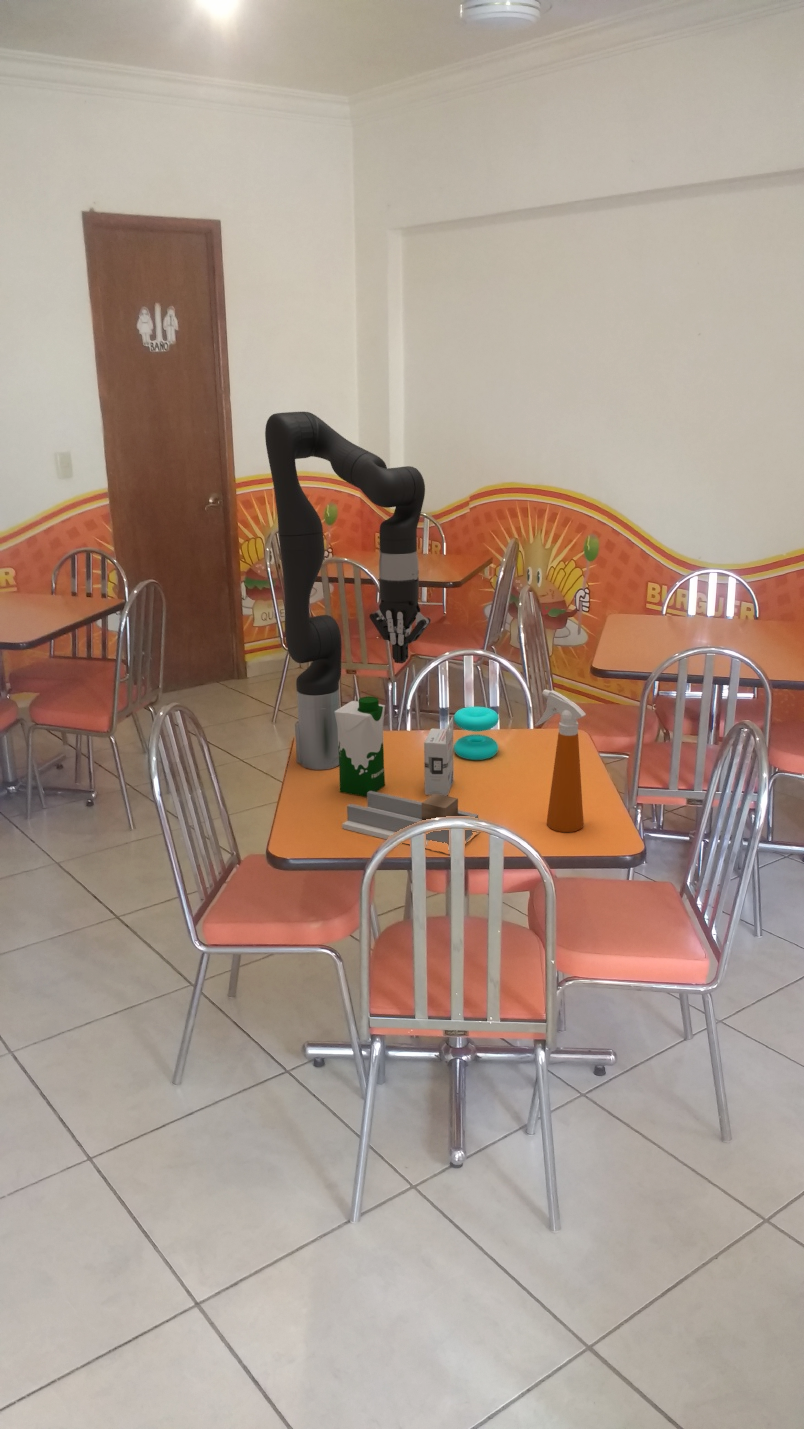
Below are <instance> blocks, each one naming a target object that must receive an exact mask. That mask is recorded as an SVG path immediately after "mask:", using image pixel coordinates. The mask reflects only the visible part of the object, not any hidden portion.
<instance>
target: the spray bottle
mask: <svg viewBox="0 0 804 1429" xmlns="http://www.w3.org/2000/svg"><path fill="white" fill-rule="evenodd" d="M541 694H542V696H543V697H544V698H546V699H547V701H546V703H545V705H546V709H545V711H544V712H543V714H542V716H541V717H540V719H538V721H537V722H536V723H535V724H534V727H536V726H539V725H541V724H544V723H545V722H546V721H548V720H549V719H550V718H551V717H553V716H555V715H556V714H559V715H560V721H559V722H558V734H557V742H556V750H555V757H554V763H553V764H554V765H553V772H552V779H551V785H550V795H549V801H548V808H547V809H548V810H547V816H546V826H547V827H548V828H549V829H551V830H554V831H555V832H560V833H573V832H576V831H580V830H581V829H582V828H584V825H585V824H584V823H585V822H584V812H583V810H584V809H583V794H582V792H583V791H582V775H581V760H580V744H579V743H580V742H579V741H580V740H579V722H578V720H579V719H581V718H583V717H585V716H586V712H585V711H584V710H583V709H582V708H581V707H580V706H579V705H578V704H576V703H575V702H573V701H572V700H571V699H569V698H567V697H566V696H564V695H563V694H561V693H560V692H557V691H555V689H552V690H549V689H544V690H542V693H541Z"/></svg>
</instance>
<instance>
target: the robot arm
mask: <svg viewBox="0 0 804 1429" xmlns="http://www.w3.org/2000/svg"><path fill="white" fill-rule="evenodd" d="M264 436H265V447H266V453H267V457H268V458H267V460H268V462H269V469H270V474H271V477H272V478H271V479H272V483H273V484H272V485H273V491H274V499H275V506H276V515H277V526H278V527H277V528H278V541H279V549H280V550H279V552H280V557H281V566H282V574H283V575H282V576H283V577H282V578H283V588H284V590H283V592H284V593H283V594H284V635H285V636H284V637H285V638H284V639H285V644H286V648H287V651H288V654H289V657H290V658H291V659H292V660H293V661H294V662H295V663H297V664H306V663H310V662H311V664H309V666H308V667H307V668H306V669H305V670H304V671H303V672H301V673H300V674H299V675H298V676H297V677H296V681H295V683H296V685H295V687H296V700H297V701H296V702H297V718H298V719H297V720H298V721H296V722H295V723H294V733H295V734H294V735H295V752H296V754H295V755H296V763H297V764H299V765H301V766H302V767H303V768H306V769H310V770H328V769H329V770H330V769H333V768H336V767H339V750H338V728H337V722H336V717H335V711H336V710H338V709H339V708H341V706H340V705H341V704H340V702H341V701H340V679H341V676H342V652H343V651H342V649H343V648H342V635H341V630H340V626H339V624H338V622H337V620H336V619H335V618H334V617H332V616H331V615H328V614H321V615H320V614H319V615H316V616H311V617H310V598H311V594H312V591H313V588H314V585H315V583H316V579H317V578H318V576H319V573H320V570H321V567H322V565H323V562H324V559H325V555H326V554H325V539H324V526H323V523H322V520H321V518H320V515H319V514H318V512H317V510H316V509H315V506H313V504H312V503H311V501H310V500H309V498H308V497H307V496H306V494H305V492H304V490H303V488H302V487H301V484H300V481H299V477H298V472H297V467H296V460H297V459H298V460H299V459H309V458H311V457H312V458H313V457H314V458H318V459H323V460H326V461H328V462H329V463H330V466H331V468H332V470H333V472H334V473H335V474H336V475H337V476H338V477H339V478H340V479H341V480H343V481H345V482H346V483H347V484H350V485H352V486H354V487H356V488H357V489H360V491H361V492H362V493H363V494H364V495H365V497H367V499H368V500H369V501H370V502H371V503H372V504H374V505H376V506H378V507H381V508H387V509H388V508H389V509H391V508H394V511H393V514H392V516H390V517H389V518H387V519H385V520H383V521H382V522H381V523H380V525H379V533H378V534H379V559H378V578H379V579H378V580H379V599H380V603H379V605H378V610H376V611H375V612H372V613H369V619H370V621H371V622H372V624H373V625H374V627H375V628H376V630H377V631H378V633H379V634H380V636H381V638H382V640H384V641H388V642H390V643H391V649H392V650H391V652H392V653H391V656H392V660H394V663H396V664H401V665H402V664H404V663H406V661H407V660H408V659H409V644H412V643H413V642H416V641H417V640H418V639H419V638H420V636H421V635H422V634H423V633H424V632H425V630H426V629H427V627H428V626H429V625H430V624H431V618H430V617H425V616H424V615H423V614H422V613H421V607H420V605H419V598H420V581H419V580H420V579H419V578H420V577H419V576H420V575H419V574H420V568H419V558H418V557H419V556H418V541H417V540H418V535H417V529H418V525H419V521H420V517H421V513H422V510H423V509H422V508H423V506H424V500H425V494H426V484H425V480H424V477H423V474H422V473H421V471H420V470H418V468H416V467H414V466H410V465H409V466H397V467H390V468H388V467H387V464H386V462H385V461H384V460H383V459H382V458H381V457H380V456H378V455H377V454H374V453H373V452H371V451H369V450H367V449H364V448H363V447H361V446H359V445H356V444H354V443H353V442H352V441H349V440H348V439H346V438H345V437H344V436H342V435H341V434H340V433H339V432H337V431H336V430H335V429H333V428H332V427H331V426H330V425H329V424H328V423H326V422H325V421H324V420H322V418H320V417H319V416H317V415H316V414H313V413H312V412H309V411H287V412H276V413H273V414H271V415H270V416H269V417H268V418H267V421H266V424H265V430H264ZM413 623H414V625H415V626H414V628H412V627H413Z"/></svg>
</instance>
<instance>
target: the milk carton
mask: <svg viewBox="0 0 804 1429" xmlns="http://www.w3.org/2000/svg"><path fill="white" fill-rule="evenodd" d="M385 710H386V705H385V704H381V703H379V698H378V697H375V696H363V697H360V698H359V699H358V701H357V700H351V701H349V702H348V703H346V704H344V705H343V706H340V708H339V709H338V710H336V711H335V717H336V722H337V728H338V750H339V765H338V770H339V772H338V773H339V774H338V775H339V793H343V794H349V795H354V796H359V797H364V798H367V792H369V791H374V792H379V791H380V790H381V789H382V788H384V786H386V781H385V778H386V777H385V776H386V775H385V761H384V760H385V758H384V754H385V753H384V719H385Z"/></svg>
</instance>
